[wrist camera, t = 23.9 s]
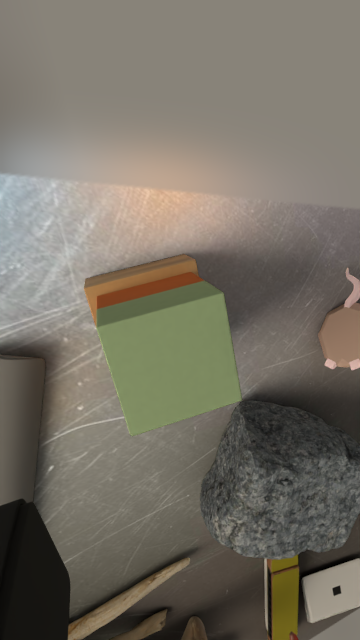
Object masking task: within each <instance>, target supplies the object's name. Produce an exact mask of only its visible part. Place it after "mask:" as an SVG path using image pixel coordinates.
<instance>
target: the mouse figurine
mask: <svg viewBox="0 0 360 640" xmlns="http://www.w3.org/2000/svg"><path fill="white" fill-rule="evenodd" d="M346 278H347V279H349V280H350V281H351V282H352V283H353V285H354V289H353V291H352V293H351V295H350V296H349V297H348V298H347V299H346V301H345V304H343V305H341V306H339V307H337V308H336V309H334V310H332V311H330V312H328V313H327V316H326V318H325V320H324V323H323V325H322V327H321V329H320V332H319V334H318V337H319V340H320V343H321V347H322V350H323V353H324V357H325V358H326V359H327V360H326V362H325V366H327V367H329V368H331V369H333V370H334V369H335V367H336V366H340V367H345V368H346V367H351V370H355V369H357V368H360V304H358V303H355V302H356V301H357V300H358V299H359V298H360V280H358V279H357V278H355V277H353V276H351V275H350V274H349V268H348V267H347V270H346Z"/></svg>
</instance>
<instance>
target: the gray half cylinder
mask: <svg viewBox="0 0 360 640" xmlns="http://www.w3.org/2000/svg"><path fill="white" fill-rule="evenodd" d="M45 371H46V365H45V361H44V360H43V359H41V358H35V357H23V356H10V355H0V506H1V505H4V504H7V503H9V502H12V501H15V500H18V499H22V498H23V499H24V500H25V501H26V503H29V502H33V496H34V486H35V475H36V465H37V455H38V444H39V434H40V423H41V413H42V402H43V392H44V381H45Z"/></svg>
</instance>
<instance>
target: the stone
mask: <svg viewBox="0 0 360 640" xmlns="http://www.w3.org/2000/svg"><path fill="white" fill-rule="evenodd" d="M200 501H201V505H200V508H201V515H202V517H203V519H204V522H205V524H206V526H207V528H208V530H209V532H210V534H211V536H212V537H213V538H214V539H215V540H216V541H217V542H219V543H221V544H223V545H225V546H226V547H228V548H230V549H232V550H234V551H235V552H237V553H239V554H241V555H243V556H248V557H254V558H261V557H262V558H266V559H277V560H280V559H285V558H293V557H294V556H296V555H298V554H299V553H300V552H304V551H305V550H307V549H308V550H313V551H315V552H325V551H329V550H330V549H334V548H340V547H342V546H343V545H344V543H345V542H346V540H347V539H348V537H349V535H350V533H351V528H352V527H353V525H354V523H355V520H356V518H357V516H358V515H359V513H360V445H359V444H358V443H357V442H356V441H355V440H354V439H353V438H351V437H350V436H349V435H348V434H347V433H346V432H345V431H344V430H342V429H340V428H337V427H335V426H330V425H327V424H326V423H325V422H324V420H323V419H321V418H319V417H317V416H315V415H314V414H312V413H309V412H306V411H304V410H301V409H298V408H295V407H285V406H280V405H277V404H274V403H269V402H261V401H257V400H254V401H242V402H241V403H240V404H239V405H238V406H237V407H236V408H235V410H234V412H233V413H232V416H231V421H230V422H229V424H228V425H227V428H226V430H225V432H224V434H223V435H222V439H221V443H220V445H219V447H218V451H217V455H216V460H215V462H214V463H213V466H212V468H211V470H210V471H209V472H208V473H207V474H206V476H205V477H204V479H203V481H202V484H201V494H200Z"/></svg>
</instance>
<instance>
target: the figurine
mask: <svg viewBox="0 0 360 640" xmlns="http://www.w3.org/2000/svg"><path fill="white" fill-rule="evenodd" d="M289 637H290V640H298V638H297V636H296V634H294V633H293V632H292V631H291V632H290V634H289ZM181 640H207V636H206V632H205V628H204V625H203V623H202V621H201V619H200V618H198V617H197V616H192V617H191V618H190V619H189V622H188V624H187V626H186V629H185V631H184V634H183V636H182V638H181Z"/></svg>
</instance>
